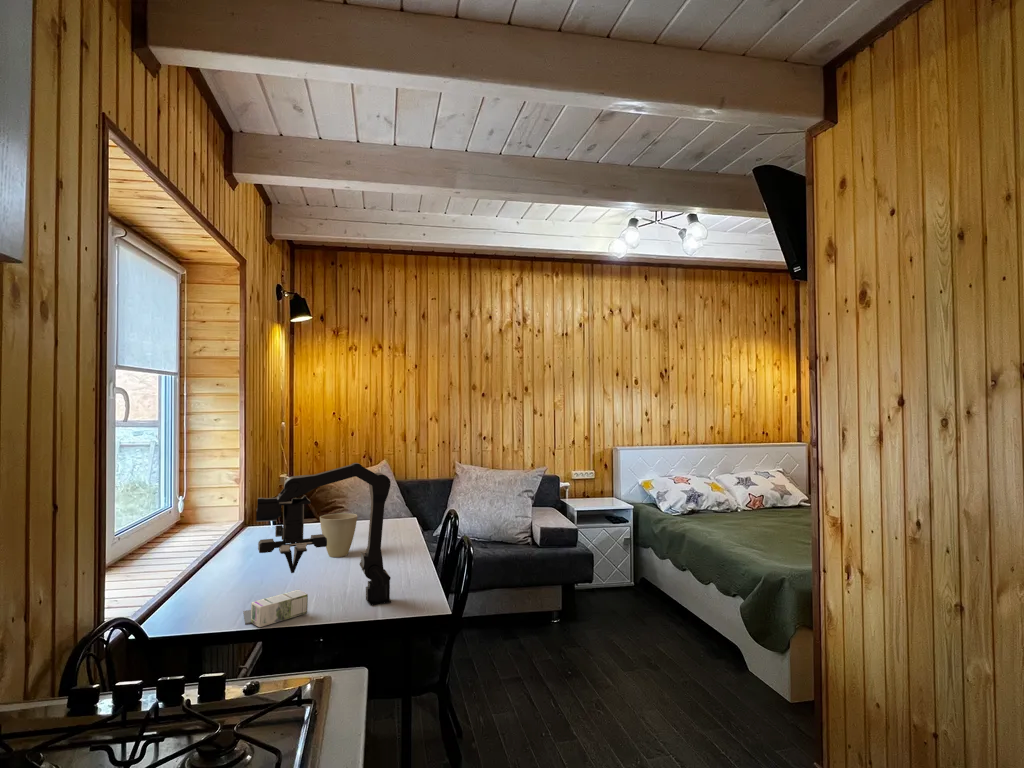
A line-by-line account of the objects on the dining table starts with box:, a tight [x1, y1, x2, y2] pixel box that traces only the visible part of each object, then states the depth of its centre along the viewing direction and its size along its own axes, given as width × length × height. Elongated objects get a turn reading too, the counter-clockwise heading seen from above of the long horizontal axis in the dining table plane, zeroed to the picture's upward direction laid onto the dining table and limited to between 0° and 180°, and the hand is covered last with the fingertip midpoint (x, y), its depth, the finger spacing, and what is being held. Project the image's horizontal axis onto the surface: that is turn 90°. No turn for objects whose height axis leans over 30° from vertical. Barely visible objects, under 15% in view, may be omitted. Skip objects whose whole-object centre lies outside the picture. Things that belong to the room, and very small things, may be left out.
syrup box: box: [250, 589, 309, 628], centre depth 167 cm, size 6×6×14 cm
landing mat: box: [243, 609, 298, 625], centre depth 171 cm, size 14×11×1 cm
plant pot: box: [319, 512, 358, 558], centre depth 240 cm, size 15×15×16 cm
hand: (292, 572), depth 172 cm, fingers closed
